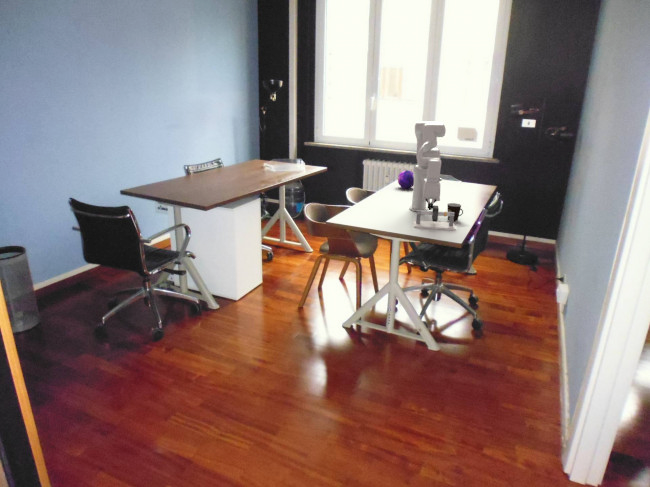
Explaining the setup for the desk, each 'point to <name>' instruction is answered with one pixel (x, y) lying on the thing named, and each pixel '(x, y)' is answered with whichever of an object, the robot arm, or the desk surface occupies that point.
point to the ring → (435, 213)
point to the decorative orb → (406, 179)
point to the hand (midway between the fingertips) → (430, 209)
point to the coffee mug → (454, 210)
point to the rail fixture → (435, 225)
